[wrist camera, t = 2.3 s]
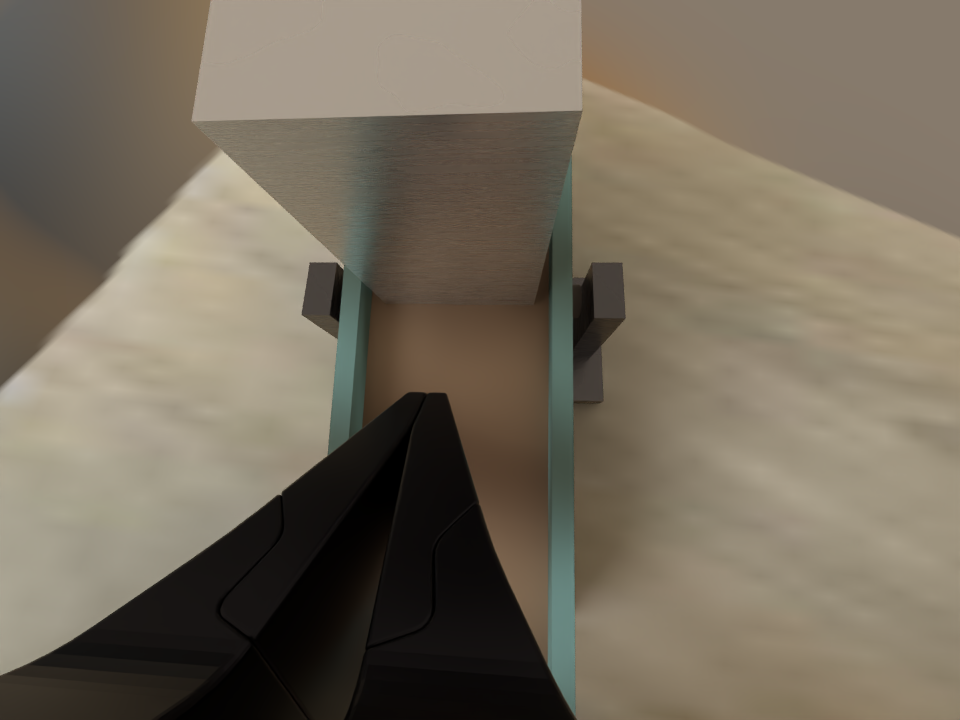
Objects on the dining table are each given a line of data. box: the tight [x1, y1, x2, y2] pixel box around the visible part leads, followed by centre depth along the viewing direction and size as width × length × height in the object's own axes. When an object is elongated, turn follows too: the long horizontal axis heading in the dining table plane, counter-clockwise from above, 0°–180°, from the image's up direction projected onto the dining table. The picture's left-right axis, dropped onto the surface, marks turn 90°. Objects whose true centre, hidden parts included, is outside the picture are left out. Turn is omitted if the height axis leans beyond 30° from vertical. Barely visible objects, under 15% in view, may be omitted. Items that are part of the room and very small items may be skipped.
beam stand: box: [302, 263, 626, 403], centre depth 16 cm, size 6×12×6 cm, turn 88°
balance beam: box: [328, 154, 582, 716], centre depth 14 cm, size 26×8×5 cm, turn 178°
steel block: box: [192, 0, 582, 305], centre depth 9 cm, size 5×5×8 cm
